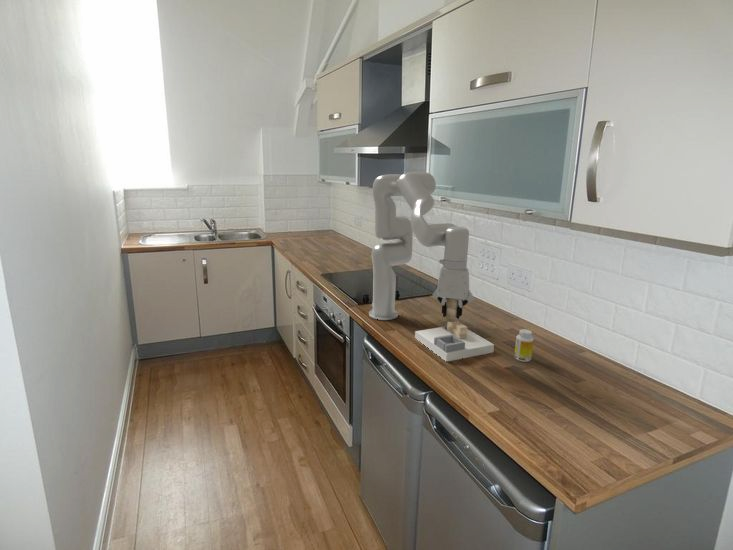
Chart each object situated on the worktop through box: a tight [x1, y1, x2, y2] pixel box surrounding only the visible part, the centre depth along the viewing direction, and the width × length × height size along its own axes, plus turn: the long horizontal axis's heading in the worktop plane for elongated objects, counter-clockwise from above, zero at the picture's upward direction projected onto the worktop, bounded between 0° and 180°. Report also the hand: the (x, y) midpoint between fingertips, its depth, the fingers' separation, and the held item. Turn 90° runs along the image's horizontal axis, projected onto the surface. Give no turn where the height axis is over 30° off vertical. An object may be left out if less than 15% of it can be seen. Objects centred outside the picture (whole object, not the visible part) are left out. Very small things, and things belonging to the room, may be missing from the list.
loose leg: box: [444, 298, 459, 322], centre depth 152 cm, size 4×4×9 cm
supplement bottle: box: [513, 328, 535, 363], centre depth 153 cm, size 6×6×10 cm
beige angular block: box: [444, 320, 469, 338], centre depth 167 cm, size 12×3×4 cm, turn 21°
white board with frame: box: [414, 326, 495, 362], centre depth 163 cm, size 21×20×6 cm
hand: (451, 316), depth 152 cm, fingers closed on loose leg, 4 cm apart
